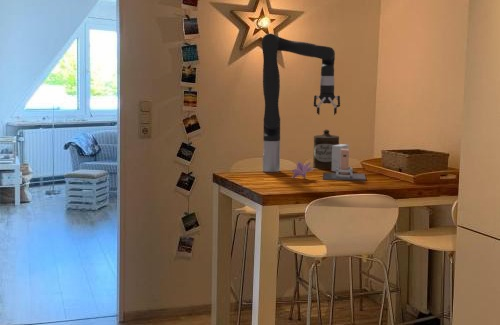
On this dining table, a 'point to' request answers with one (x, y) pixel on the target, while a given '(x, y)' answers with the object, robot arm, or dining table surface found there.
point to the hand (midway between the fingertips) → (326, 114)
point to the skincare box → (337, 155)
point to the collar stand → (344, 177)
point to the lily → (301, 170)
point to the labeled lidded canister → (324, 150)
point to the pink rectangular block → (344, 160)
